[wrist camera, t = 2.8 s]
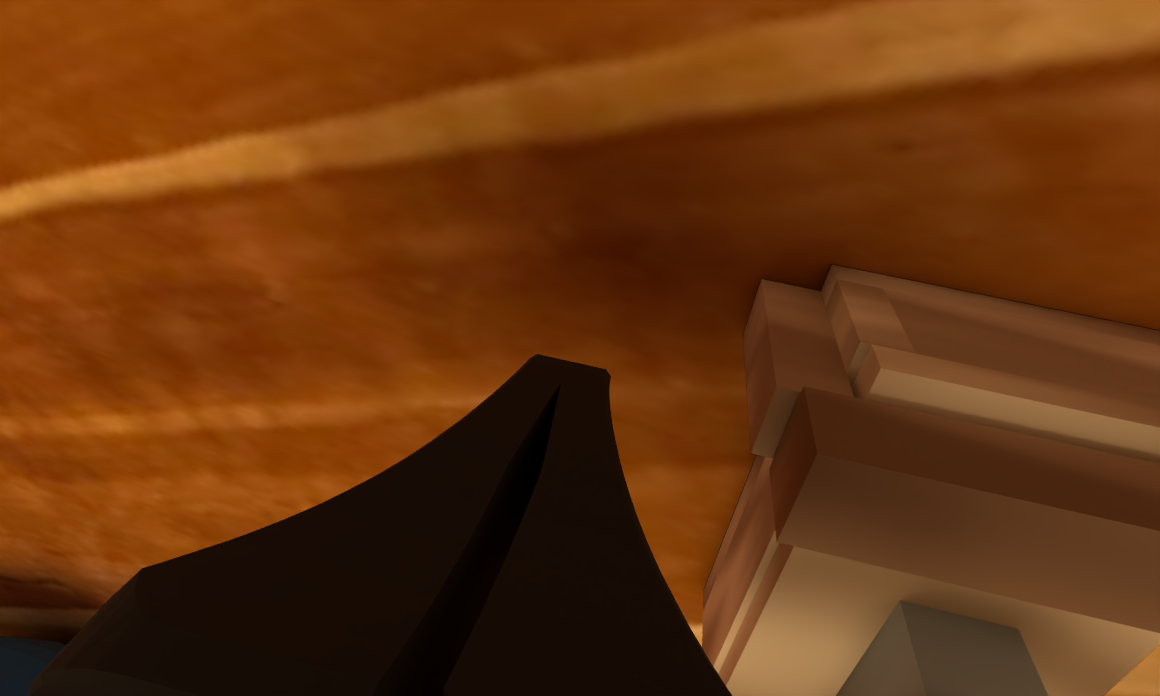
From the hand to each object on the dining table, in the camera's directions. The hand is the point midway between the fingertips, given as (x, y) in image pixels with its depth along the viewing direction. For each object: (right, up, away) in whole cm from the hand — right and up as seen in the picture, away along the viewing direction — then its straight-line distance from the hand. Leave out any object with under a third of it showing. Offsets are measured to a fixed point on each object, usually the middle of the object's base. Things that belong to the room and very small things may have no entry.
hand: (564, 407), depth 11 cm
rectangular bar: (+9, -2, 0) cm, 9 cm away
